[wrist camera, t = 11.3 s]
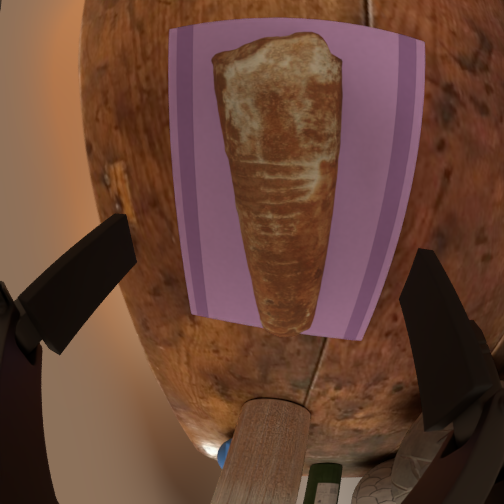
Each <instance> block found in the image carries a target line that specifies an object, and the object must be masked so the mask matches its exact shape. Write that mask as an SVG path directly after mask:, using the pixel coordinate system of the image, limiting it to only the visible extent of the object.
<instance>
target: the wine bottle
mask: <svg viewBox="0 0 504 504" xmlns="http://www.w3.org/2000/svg"><path fill="white" fill-rule="evenodd" d="M341 475H342V466H341V465H340V464H334V463H319V464H314V465H312V466H311V467H310V470H309V476H308V482H307V488H306V492H305V497H304V502H303V504H337V503H338V496H339V490H340V482H341Z"/></svg>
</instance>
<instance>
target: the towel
mask: <svg viewBox="0 0 504 504" xmlns="http://www.w3.org/2000/svg"><path fill="white" fill-rule="evenodd" d="M296 32H314V33H317V34H319V35H320V36H321V37H323V39H324V40H325V42H326V43H327V45H328V47H329V50H330V52H331V54H333V55H335V56H337V57H338V58H340V59H342V61H343V62H342V91H343V99H342V122H341V144H340V153H339V158H338V174H337V182H336V189H335V199H334V208H333V216H332V222H331V229H330V236H329V243H328V249H327V255H326V261H325V267H324V272H323V277H322V282H321V288H320V292H319V296H318V301H317V306H316V311H315V316H314V319H313V322H312V325H311V327H310V328H309V329H308V330H306V331H303V332H301V333H300V334H307V335H315V336H323V337H331V338H340V339H348V340H360V341H361V340H362V338H363V336H364V334H365V331H366V329H367V327H368V324H369V322H370V319H371V317H372V314H373V312H374V309H375V307H376V304H377V302H378V299H379V296H380V294H381V291H382V288H383V285H384V283H385V280H386V277H387V274H388V271H389V268H390V265H391V262H392V259H393V255H394V252H395V249H396V245H397V242H398V239H399V235H400V231H401V228H402V224H403V220H404V216H405V212H406V208H407V204H408V200H409V195H410V190H411V186H412V181H413V176H414V170H415V165H416V159H417V153H418V146H419V139H420V131H421V123H422V113H423V101H424V84H425V42H424V41H421V40H417V39H415V38H411V37H408V36H405V35H401V34H397V33H393V32H389V31H385V30H381V29H376V28H371V27H366V26H361V25H355V24H349V23H342V22H335V21H326V20H316V19H301V18H250V19H235V20H224V21H216V22H208V23H201V24H195V25H189V26H183V27H178V28H174V29H170V30H169V60H168V83H169V120H170V140H171V156H172V169H173V181H174V192H175V202H176V211H177V220H178V228H179V236H180V244H181V251H182V258H183V265H184V272H185V278H186V285H187V291H188V297H189V302H190V308H191V314H194V315H198V316H203V317H207V318H213V319H218V320H223V321H228V322H233V323H239V324H244V325H250V326H255V327H261V328H263V326H262V324H261V321H260V316H259V313H258V309H257V305H256V301H255V296H254V292H253V286H252V280H251V276H250V272H249V269H248V265H247V259H246V255H245V250H244V245H243V240H242V235H241V230H240V223H239V217H238V212H237V209H236V205H235V194H234V188H233V183H232V177H231V171H230V166H229V160H228V157H227V155H226V152H225V146H224V139H223V134H222V129H221V124H220V118H219V113H218V107H217V100H216V95H215V90H214V76H213V64H212V62H211V59H212V57H213V56H214V55H215V54H217V53H220V52H223V51H230V50H234V49H237V48H239V47H241V46H243V45H244V44H247V43H250V42H253V41H255V40H258V39H261V38H264V37H275V36H279V37H281V36H288V35H291V34H293V33H296Z"/></svg>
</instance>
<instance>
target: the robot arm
mask: <svg viewBox="0 0 504 504" xmlns="http://www.w3.org/2000/svg"><path fill="white" fill-rule="evenodd" d="M136 263H137V260H136V256H135V252H134V248H133V243H132V239H131V235H130V230H129V225H128V220H127V215H126V214H113V215H112V216H111V217H109V218H108V219H107V220H105V221H104V222H103V223H101V224H100V225H99V226H97V227H96V228H95V229H94V230H92V231H91V232H90V233H89V234H87V235H86V236H85V237H84V238H82V239H81V240H80V241H79V242H78V243H76V244H75V245H74V246H73V247H71V248H70V249H69V250H68V251H67V252H66V253H65V254H63V255H62V256H61V257H60V258H59V259H58V260H56V261H55V262H54V263H53V264H52V265H51V266H50V267H49V268H47V269H46V270H45V271H44V272H43V273H42V274H41V275H40V276H39V277H38V278H37V279H36V280H35V281H34V282H33V283H32V284H30V285H29V287H27V288H26V290H25V291H23V292H22V294H20V295H19V296H18V299H16V300H15V301H13V299H12V297H11V296H10V294H9V292H8V290H7V288H6V286H5V284H4V282H2V281H0V504H59V503H58V501H57V499H56V496H55V492H54V488H53V484H52V480H51V475H50V470H49V465H48V459H47V453H46V446H45V438H44V429H43V417H42V397H41V369H42V346H41V345H40V341H41V340H42V339H43V341H44V342H45V344H46V345H47V346H48V348H49V349H50V350H52V351H54V352H55V353H57V354H59V355H61V353H62V352H63V351H64V349H65V348H66V347H67V345H68V344H69V343H70V341H71V340H72V339H73V337H74V336H75V335H76V334H77V332H78V331H79V330H80V328H81V327H82V326H83V324H84V323H85V322H86V321H87V320H88V318H89V317H90V316H91V315H92V314H93V312H94V311H95V310H96V309H97V307H98V306H99V305H100V303H102V301H103V300H104V299H105V298H106V297H107V296H108V294H109V293H110V292H111V291H112V290H113V289H114V287H115V286H116V285H117V284H118V283H119V282H120V281H121V279H122V278H123V277H124V276H125V275H126V274H127V273H128V272H129V270H130V269H131V268H132V267H133V266H134V265H135V264H136ZM399 301H400V304H401V308H402V311H403V315H404V319H405V323H406V327H407V331H408V335H409V339H410V344H411V348H412V353H413V358H414V363H415V368H416V374H417V379H418V385H419V392H420V399H421V406H422V414H423V424H424V432H430V431H438V430H443V429H444V428H445V427H447V426H448V425H449V424H450V423H452V422H453V430H452V431H450V432H449V433H447V434H446V435H445V436H443V437H442V438H441V439H439V440H438V442H437V443H436V444H440V443H441V442H443V441H444V440H445V441H444V443H443V444H442V446H441V448H440V449H439V451H438V453H437V454H436V456H435V457H434V459H433V461H432V462H431V464H430V465H429V467H428V468H427V470H426V471H425V472H424V474H423V475H422V477H421V478H420V479H419V481H418V482H417V484H416V485H415V486H414V487H413V489H412V490H411V491H410V493H409V494H408V495H407V496H406V498H405V499H404V500H403V501H402V502H401V504H504V388H503V387H502V385H501V382H500V378H499V375H498V372H497V369H496V366H495V363H494V361H493V358H492V355H491V353H490V350H489V347H488V345H487V344H486V340H485V337H484V335H483V333H482V330H481V329H480V328H479V327H478V325H477V324H476V323H475V322H474V320H469V319H468V316H467V314H466V312H465V310H464V308H463V306H462V303H461V301H460V299H459V297H458V295H457V293H456V291H455V289H454V287H453V285H452V283H451V282H450V280H449V278H448V276H447V274H446V272H445V270H444V269H443V267H442V265H441V263H440V262H439V260H438V258H437V256H436V255H435V253H434V251H433V250H426V249H420V248H418V251H417V254H416V256H415V259H414V262H413V265H412V268H411V270H410V273H409V275H408V278H407V281H406V283H405V286H404V288H403V291H402V293H401V295H400V298H399Z"/></svg>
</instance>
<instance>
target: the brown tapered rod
mask: <svg viewBox="0 0 504 504" xmlns="http://www.w3.org/2000/svg"><path fill="white" fill-rule="evenodd" d="M211 62H212V64H213V76H214V90H215V95H216V100H217V107H218V113H219V118H220V124H221V129H222V134H223V139H224V146H225V152H226V155H227V157H228V160H229V166H230V171H231V177H232V183H233V188H234V194H235V205H236V209H237V212H238V217H239V223H240V230H241V235H242V240H243V245H244V250H245V255H246V259H247V265H248V269H249V272H250V276H251V280H252V286H253V292H254V296H255V301H256V305H257V309H258V313H259V316H260V321H261V324H262V326H263V328H264V329H265V330H266V331H267V332H269V333H271V334H272V335H275V336H279V337H292V336H296V335H298V334H300V333H301V332H303V331H306V330H308V329H309V328H310V327H311V325H312V322H313V319H314V316H315V311H316V306H317V301H318V296H319V292H320V288H321V282H322V277H323V272H324V267H325V261H326V255H327V249H328V243H329V236H330V229H331V222H332V216H333V208H334V199H335V189H336V182H337V174H338V158H339V153H340V144H341V122H342V99H343V91H342V62H343V61H342V59H340V58H338V57H337V56H335V55H333V54H331V52H330V50H329V47H328V45H327V43H326V42H325V40H324V39H323V37H321V36H320V35H319V34H317V33H314V32H296V33H293V34H291V35H288V36H281V37H279V36H275V37H264V38H261V39H258V40H255V41H253V42H250V43H247V44H244V45H243V46H241V47H239V48H237V49H234V50H230V51H223V52H220V53H217V54H215V55H214V56H213V57H212V59H211Z"/></svg>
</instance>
